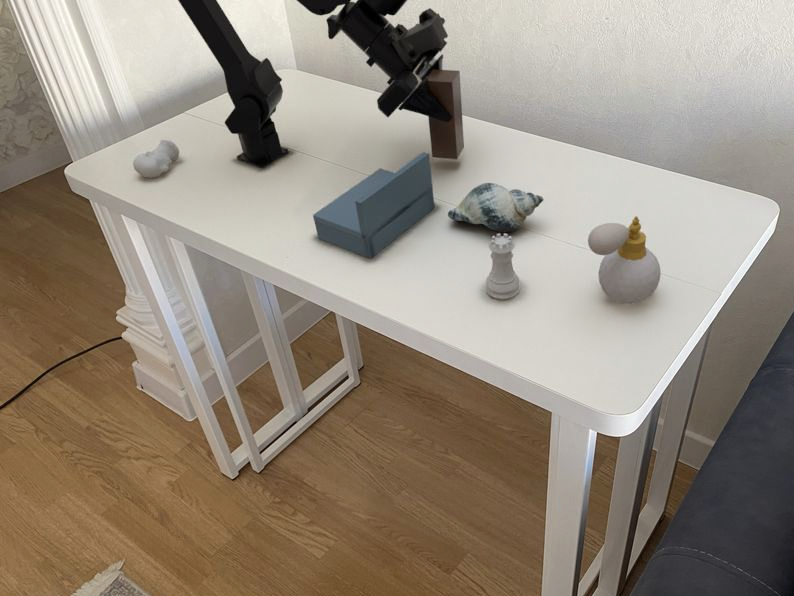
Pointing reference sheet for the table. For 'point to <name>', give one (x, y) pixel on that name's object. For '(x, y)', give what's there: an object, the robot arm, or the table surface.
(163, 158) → the smooth white sculpture
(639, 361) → the table surface
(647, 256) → the perfume bottle
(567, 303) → the table surface
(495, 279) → the rook chess piece
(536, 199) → the seashell
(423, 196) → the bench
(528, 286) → the table surface
